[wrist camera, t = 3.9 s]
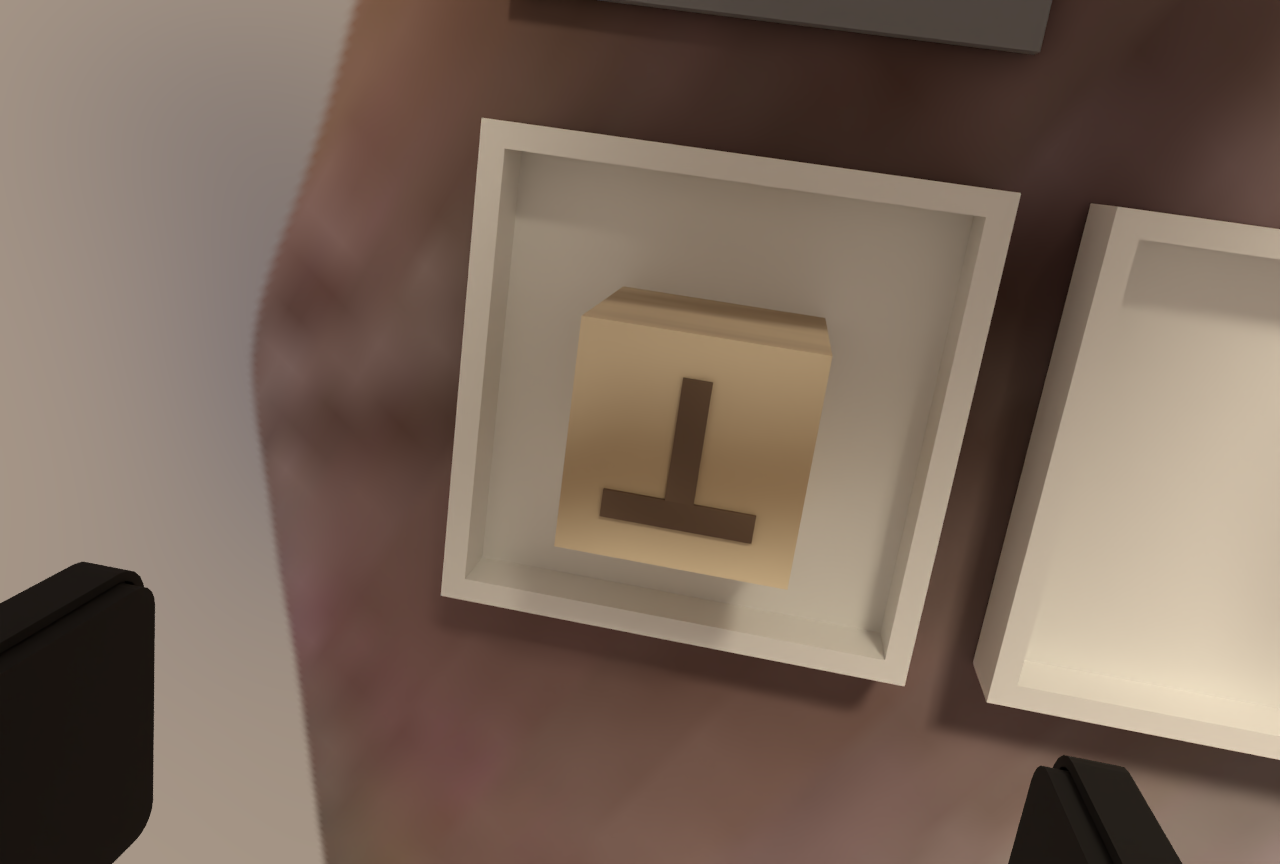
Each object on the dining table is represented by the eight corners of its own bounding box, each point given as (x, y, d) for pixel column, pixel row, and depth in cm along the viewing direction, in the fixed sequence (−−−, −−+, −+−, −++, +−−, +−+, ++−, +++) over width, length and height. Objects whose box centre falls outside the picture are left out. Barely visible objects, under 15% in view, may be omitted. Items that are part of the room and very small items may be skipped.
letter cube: (623, 286, 24) (580, 316, 20) (825, 318, 24) (832, 357, 19) (598, 479, 26) (552, 552, 21) (788, 513, 25) (786, 596, 20)
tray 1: (506, 121, 24) (481, 117, 22) (1002, 190, 23) (1020, 193, 21) (465, 565, 28) (440, 595, 26) (896, 648, 26) (904, 686, 24)
